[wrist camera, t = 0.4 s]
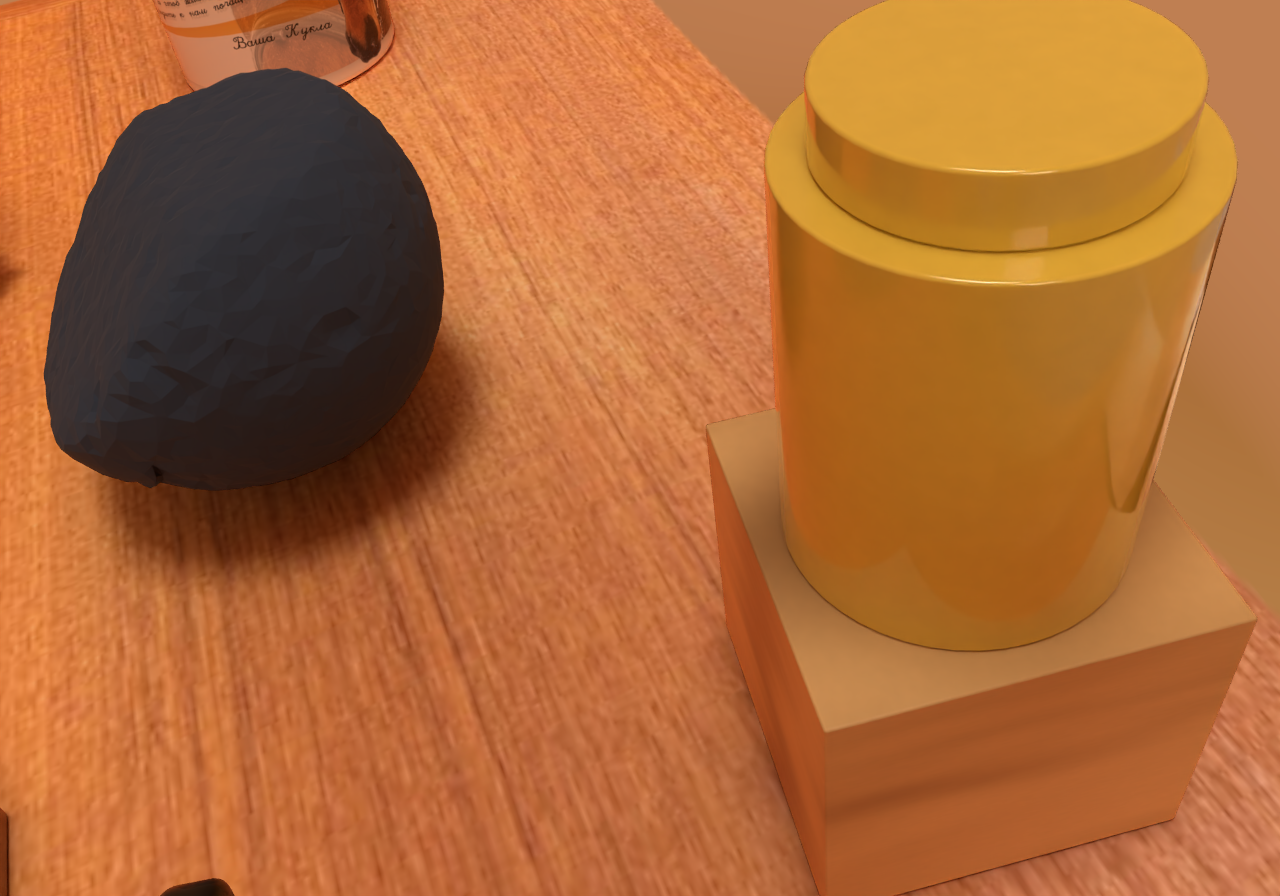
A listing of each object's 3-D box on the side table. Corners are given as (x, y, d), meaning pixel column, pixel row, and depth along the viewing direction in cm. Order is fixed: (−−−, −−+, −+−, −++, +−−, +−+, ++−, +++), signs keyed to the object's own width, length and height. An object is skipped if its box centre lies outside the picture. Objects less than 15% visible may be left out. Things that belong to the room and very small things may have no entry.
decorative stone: (391, 263, 42) (303, -10, 35) (551, 451, 35) (479, 150, 28) (65, 405, 39) (-105, 133, 32) (163, 649, 31) (-33, 362, 24)
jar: (1206, 599, 20) (1376, 130, 14) (846, 693, 20) (854, 250, 13) (1036, 364, 25) (1105, -71, 18) (740, 436, 24) (707, 14, 18)
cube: (1175, 819, 25) (1259, 618, 20) (825, 915, 24) (824, 732, 19) (1014, 551, 30) (1050, 341, 25) (725, 624, 30) (704, 423, 25)
